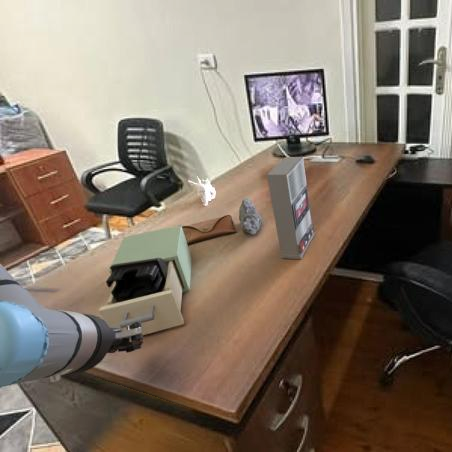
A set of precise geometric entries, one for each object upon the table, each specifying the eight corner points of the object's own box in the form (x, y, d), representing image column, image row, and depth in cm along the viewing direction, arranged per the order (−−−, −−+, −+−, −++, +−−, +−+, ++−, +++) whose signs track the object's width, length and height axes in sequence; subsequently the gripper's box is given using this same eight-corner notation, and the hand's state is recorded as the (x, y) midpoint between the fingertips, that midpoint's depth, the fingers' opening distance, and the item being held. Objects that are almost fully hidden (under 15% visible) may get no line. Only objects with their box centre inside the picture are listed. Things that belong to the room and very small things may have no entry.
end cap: (171, 276, 81) (161, 252, 78) (162, 296, 75) (152, 270, 72) (126, 283, 80) (115, 259, 77) (114, 303, 74) (101, 278, 71)
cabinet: (189, 291, 89) (177, 255, 83) (126, 307, 85) (108, 271, 80) (191, 257, 103) (181, 224, 97) (137, 269, 99) (123, 237, 94)
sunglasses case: (179, 247, 107) (173, 226, 107) (181, 248, 113) (175, 228, 113) (238, 231, 113) (232, 211, 113) (236, 233, 120) (231, 214, 120)
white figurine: (206, 206, 134) (199, 182, 129) (188, 206, 135) (181, 183, 131) (220, 193, 144) (215, 171, 139) (204, 193, 145) (198, 171, 141)
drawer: (182, 336, 74) (169, 304, 69) (111, 356, 70) (93, 324, 66) (186, 283, 90) (176, 254, 86) (129, 297, 87) (115, 268, 82)
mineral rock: (254, 240, 108) (247, 211, 103) (224, 237, 111) (216, 209, 107) (272, 220, 119) (267, 193, 114) (244, 218, 122) (238, 192, 117)
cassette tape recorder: (302, 260, 97) (289, 175, 84) (281, 258, 98) (265, 174, 86) (315, 234, 108) (306, 156, 96) (296, 233, 110) (285, 156, 98)
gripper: (7, 391, 41) (100, 373, 63) (126, 357, 44) (175, 351, 67) (4, 328, 43) (95, 332, 65) (119, 300, 46) (169, 312, 68)
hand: (135, 342), depth 66 cm, fingers closed
